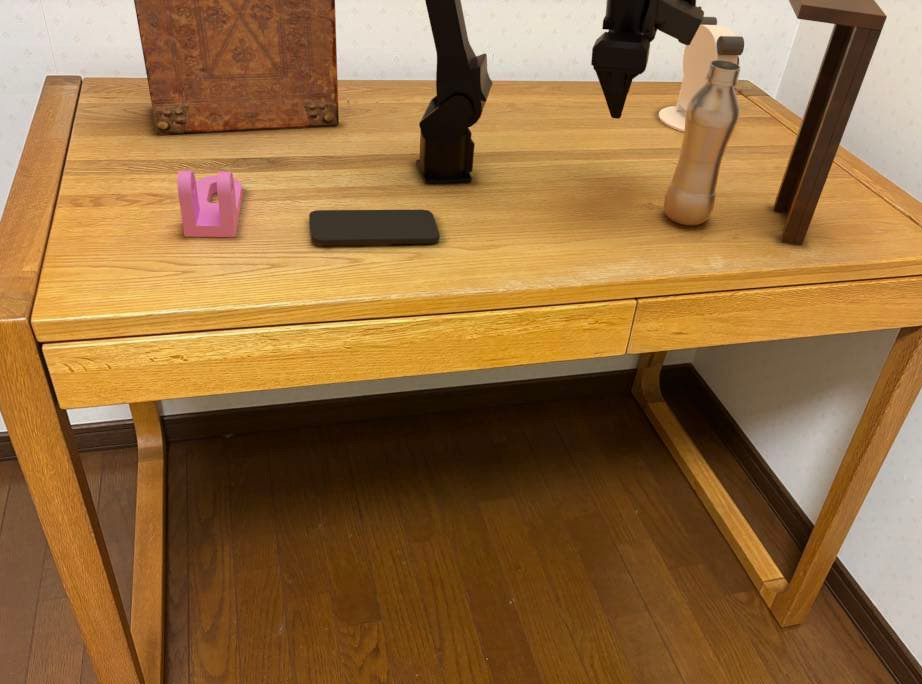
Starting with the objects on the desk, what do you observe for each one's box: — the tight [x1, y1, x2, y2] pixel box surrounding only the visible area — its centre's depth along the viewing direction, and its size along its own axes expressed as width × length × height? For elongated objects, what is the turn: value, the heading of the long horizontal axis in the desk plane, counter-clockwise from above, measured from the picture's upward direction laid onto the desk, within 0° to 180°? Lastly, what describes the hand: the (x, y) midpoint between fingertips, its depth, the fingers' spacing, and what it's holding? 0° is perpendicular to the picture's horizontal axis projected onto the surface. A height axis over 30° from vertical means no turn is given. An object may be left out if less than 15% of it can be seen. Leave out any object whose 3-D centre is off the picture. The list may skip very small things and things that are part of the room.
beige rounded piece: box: [658, 16, 745, 133], centre depth 134 cm, size 12×11×15 cm
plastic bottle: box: [663, 60, 741, 226], centre depth 105 cm, size 6×7×20 cm
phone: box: [308, 209, 440, 246], centre depth 101 cm, size 7×1×15 cm
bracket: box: [176, 170, 244, 238], centre depth 99 cm, size 13×6×7 cm, turn 8°
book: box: [133, 0, 340, 135], centre depth 114 cm, size 25×9×30 cm, turn 110°
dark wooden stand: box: [772, 0, 888, 246], centre depth 104 cm, size 9×10×28 cm
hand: (620, 104), depth 107 cm, fingers open, 9 cm apart
